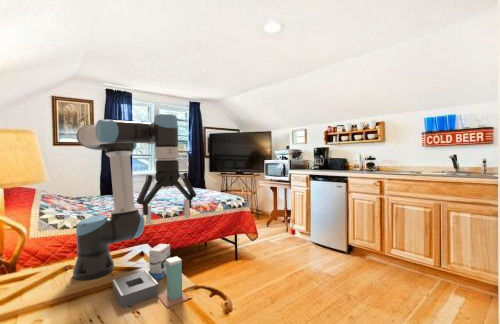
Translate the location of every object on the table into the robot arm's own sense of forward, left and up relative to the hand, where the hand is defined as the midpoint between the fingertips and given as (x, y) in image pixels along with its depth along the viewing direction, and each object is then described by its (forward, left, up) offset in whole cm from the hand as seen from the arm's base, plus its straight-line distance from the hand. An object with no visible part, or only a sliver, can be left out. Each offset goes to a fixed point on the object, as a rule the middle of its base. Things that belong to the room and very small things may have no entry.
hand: (168, 220), depth 90 cm
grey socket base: (-11, -9, -27) cm, 30 cm away
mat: (+1, +1, -27) cm, 27 cm away
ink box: (-19, +3, -27) cm, 33 cm away
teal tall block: (+1, +1, -27) cm, 27 cm away
